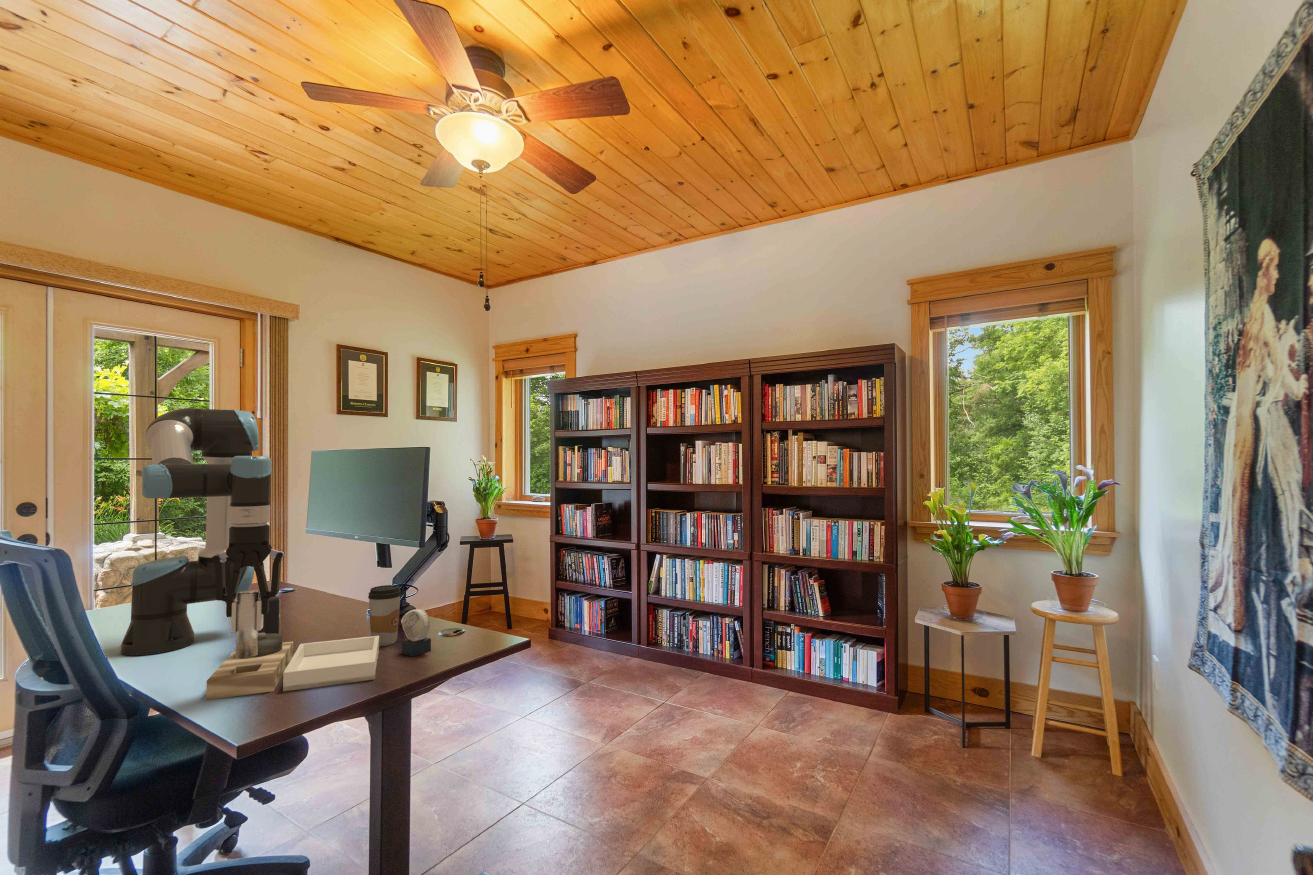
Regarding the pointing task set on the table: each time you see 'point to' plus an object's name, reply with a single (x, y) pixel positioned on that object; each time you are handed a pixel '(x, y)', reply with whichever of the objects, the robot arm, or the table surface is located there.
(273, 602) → the black upright block
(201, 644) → the table surface
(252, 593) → the lock pin
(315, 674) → the tray
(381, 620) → the coffee cup
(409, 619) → the watch
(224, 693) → the tensioner plate
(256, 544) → the robot arm
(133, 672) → the table surface
